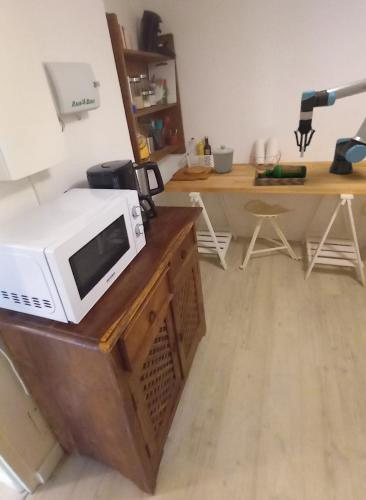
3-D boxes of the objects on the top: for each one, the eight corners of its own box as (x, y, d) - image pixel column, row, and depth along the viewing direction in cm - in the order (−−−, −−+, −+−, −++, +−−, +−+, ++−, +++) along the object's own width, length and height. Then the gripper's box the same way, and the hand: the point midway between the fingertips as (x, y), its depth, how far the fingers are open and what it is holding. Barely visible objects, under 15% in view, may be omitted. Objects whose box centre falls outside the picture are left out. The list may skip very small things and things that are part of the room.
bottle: (307, 164, 194) (264, 165, 201) (306, 180, 197) (263, 181, 204) (305, 164, 204) (263, 165, 211) (303, 179, 207) (263, 180, 214)
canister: (239, 170, 240) (239, 143, 229) (224, 175, 230) (223, 148, 219) (222, 167, 252) (221, 141, 241) (208, 172, 242) (206, 146, 231)
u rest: (300, 176, 210) (301, 168, 207) (303, 184, 196) (304, 175, 193) (255, 178, 218) (255, 170, 215) (254, 185, 204) (254, 177, 201)
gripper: (316, 117, 185) (311, 155, 197) (294, 118, 188) (290, 155, 200) (317, 118, 178) (313, 157, 190) (295, 120, 182) (291, 158, 194)
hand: (301, 156), depth 195 cm, fingers closed
